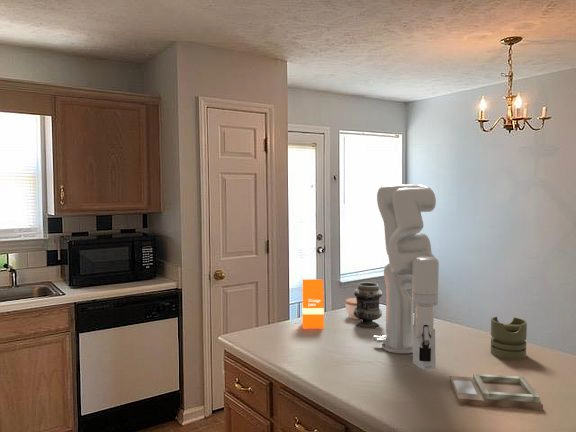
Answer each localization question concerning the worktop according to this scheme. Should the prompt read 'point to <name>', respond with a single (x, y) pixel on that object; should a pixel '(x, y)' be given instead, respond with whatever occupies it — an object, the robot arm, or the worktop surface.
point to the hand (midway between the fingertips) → (423, 355)
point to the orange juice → (313, 303)
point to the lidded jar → (351, 307)
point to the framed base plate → (495, 391)
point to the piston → (509, 339)
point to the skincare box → (416, 345)
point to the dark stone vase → (367, 305)
